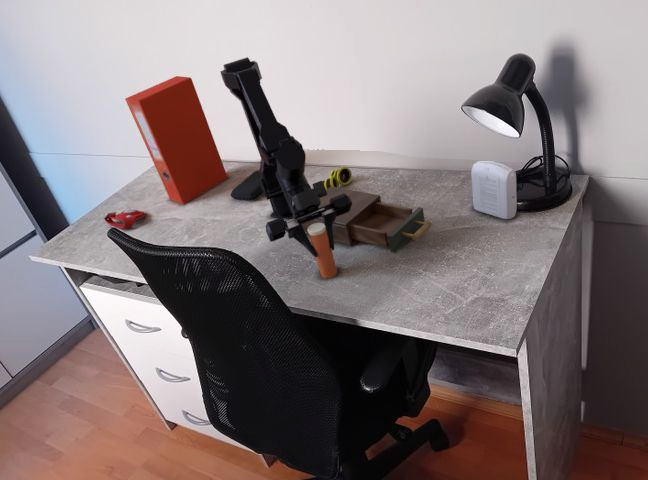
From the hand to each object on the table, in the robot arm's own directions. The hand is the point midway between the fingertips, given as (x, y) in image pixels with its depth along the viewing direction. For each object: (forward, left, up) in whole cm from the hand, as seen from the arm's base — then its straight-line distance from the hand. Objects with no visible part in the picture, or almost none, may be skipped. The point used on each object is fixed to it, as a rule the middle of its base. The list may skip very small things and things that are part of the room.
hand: (324, 253), depth 114 cm
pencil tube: (-1, +1, -6) cm, 6 cm away
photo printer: (+27, +31, -6) cm, 41 cm away
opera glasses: (-19, +37, -6) cm, 42 cm away
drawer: (+7, +17, -5) cm, 19 cm away
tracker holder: (-77, +10, -6) cm, 78 cm away
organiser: (-8, +19, -6) cm, 22 cm away
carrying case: (-44, +33, -6) cm, 55 cm away
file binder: (-66, +31, -6) cm, 73 cm away
